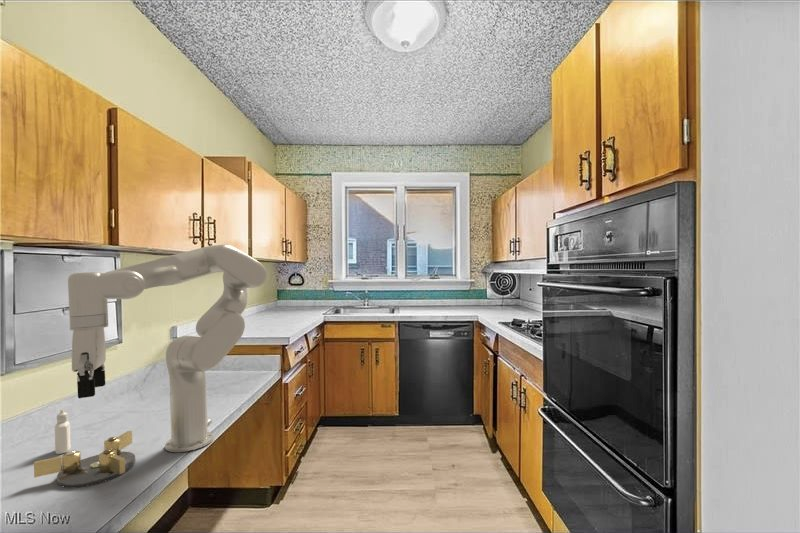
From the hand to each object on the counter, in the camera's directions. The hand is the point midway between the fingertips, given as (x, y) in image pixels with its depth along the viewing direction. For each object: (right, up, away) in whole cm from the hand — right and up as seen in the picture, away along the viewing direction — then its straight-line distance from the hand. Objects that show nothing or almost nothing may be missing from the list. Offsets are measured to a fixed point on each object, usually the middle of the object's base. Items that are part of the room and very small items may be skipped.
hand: (92, 391), depth 99 cm
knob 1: (-9, -20, 0) cm, 22 cm away
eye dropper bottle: (-22, -23, +18) cm, 37 cm away
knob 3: (+5, -20, 0) cm, 20 cm away
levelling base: (-2, -22, +4) cm, 22 cm away
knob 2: (-2, -20, +12) cm, 24 cm away
